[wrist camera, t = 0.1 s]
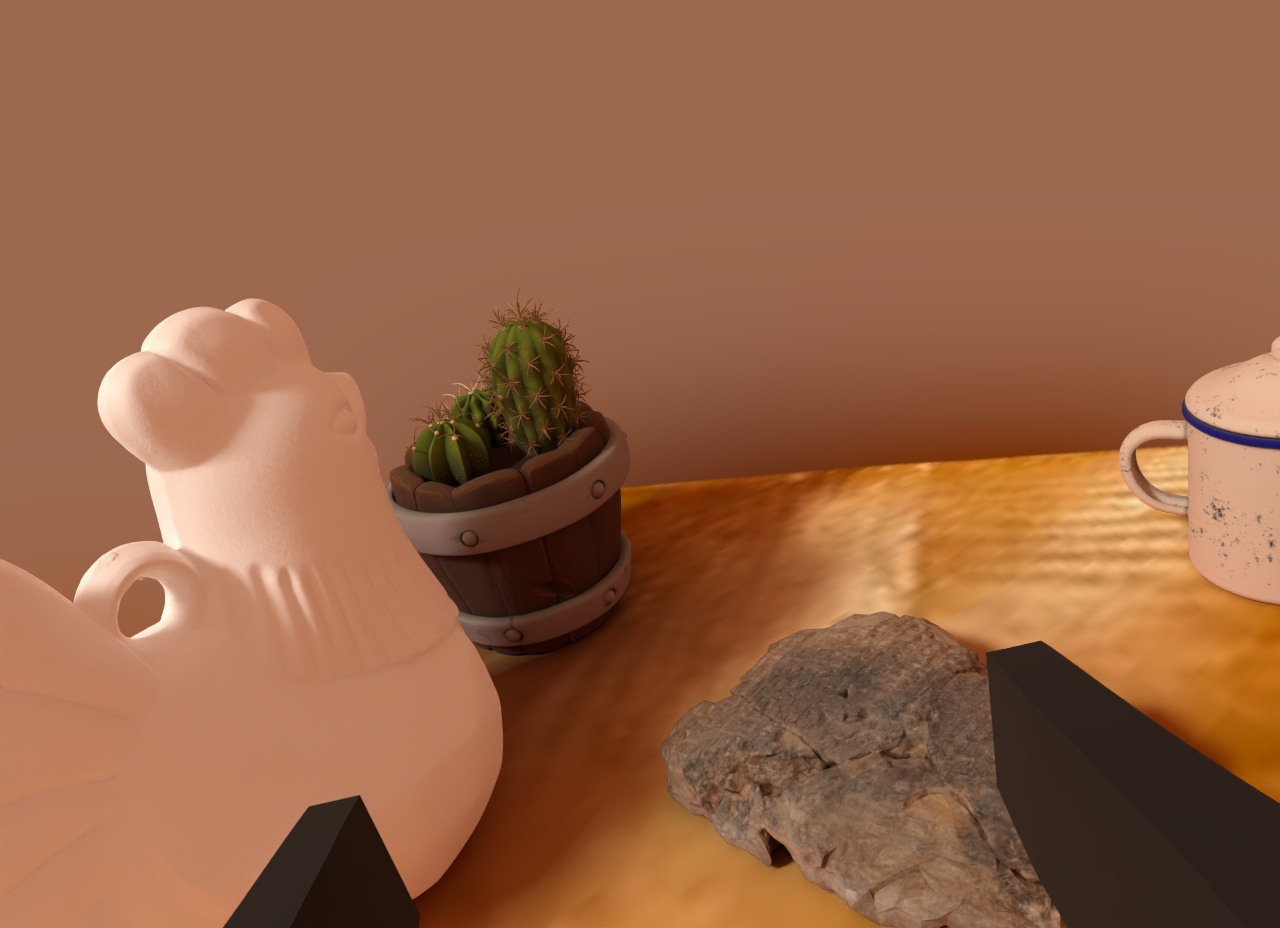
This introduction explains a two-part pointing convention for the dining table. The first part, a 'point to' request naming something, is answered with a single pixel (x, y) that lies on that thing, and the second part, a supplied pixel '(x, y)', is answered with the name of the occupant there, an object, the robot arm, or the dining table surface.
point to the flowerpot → (520, 497)
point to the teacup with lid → (1226, 475)
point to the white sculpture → (234, 653)
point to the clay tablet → (866, 775)
